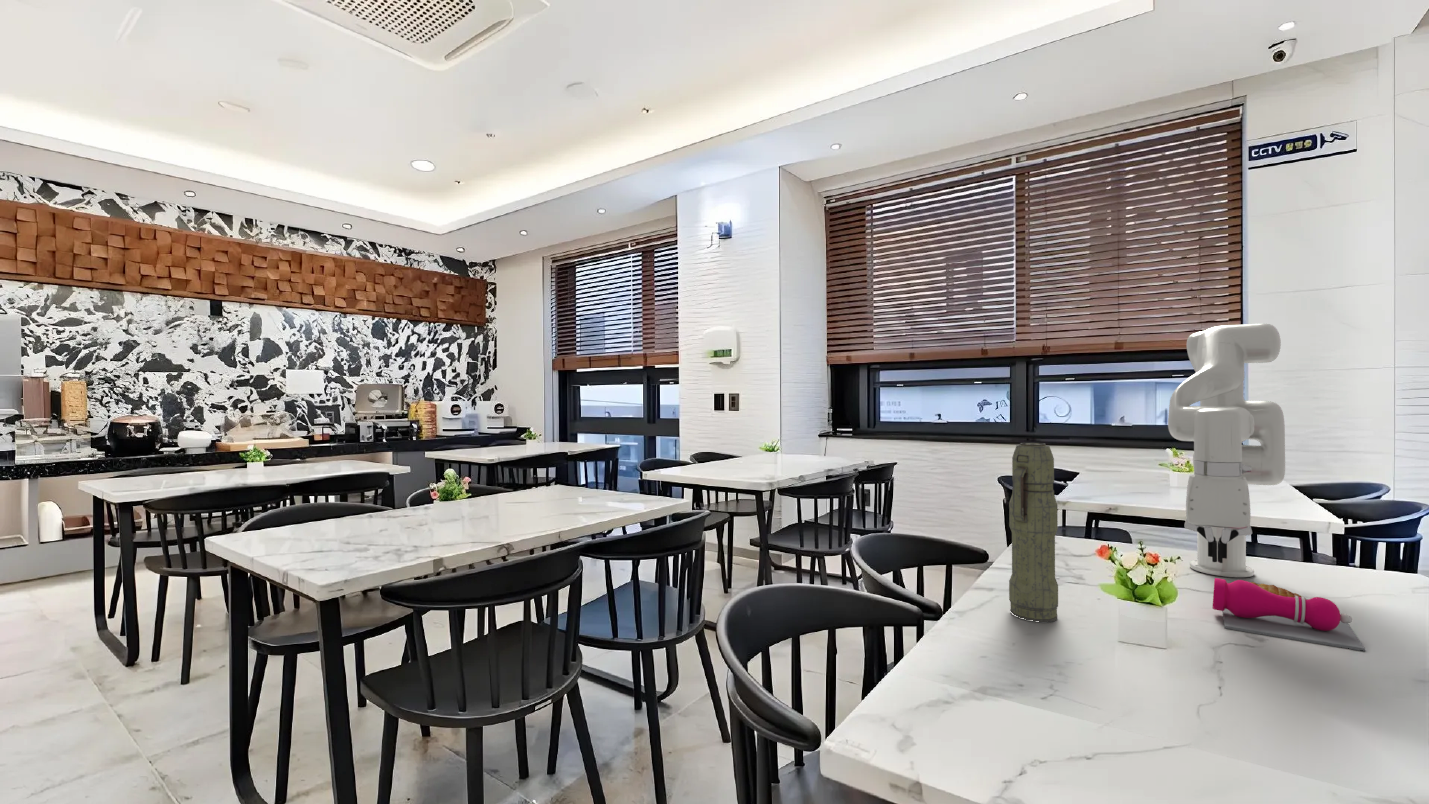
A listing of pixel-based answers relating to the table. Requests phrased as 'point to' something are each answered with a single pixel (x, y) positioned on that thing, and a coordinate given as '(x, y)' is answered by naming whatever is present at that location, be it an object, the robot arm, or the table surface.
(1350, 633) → the mat
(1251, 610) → the pepper mill
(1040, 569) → the thermos
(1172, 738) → the table surface
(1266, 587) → the pastry
